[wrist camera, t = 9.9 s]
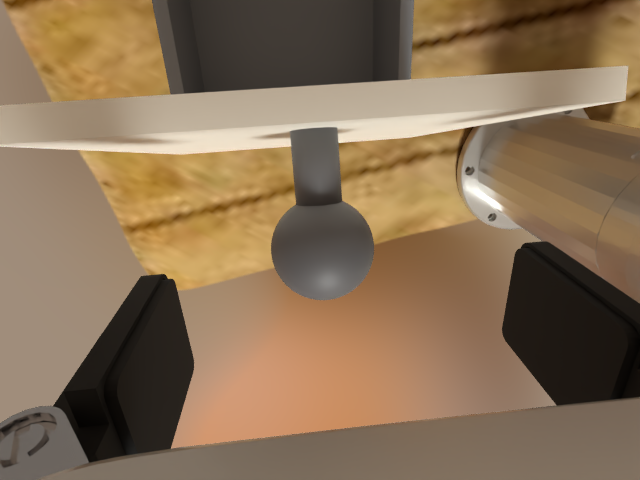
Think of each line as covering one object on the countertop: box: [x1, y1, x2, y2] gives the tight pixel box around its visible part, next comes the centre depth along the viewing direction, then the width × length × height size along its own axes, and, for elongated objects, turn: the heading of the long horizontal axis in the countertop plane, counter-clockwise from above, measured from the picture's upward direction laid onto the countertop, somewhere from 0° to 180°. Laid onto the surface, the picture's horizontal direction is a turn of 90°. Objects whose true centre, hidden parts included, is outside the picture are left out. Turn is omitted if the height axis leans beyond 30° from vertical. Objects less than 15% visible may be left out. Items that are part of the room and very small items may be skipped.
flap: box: [0, 66, 628, 300], centre depth 18 cm, size 15×17×6 cm
